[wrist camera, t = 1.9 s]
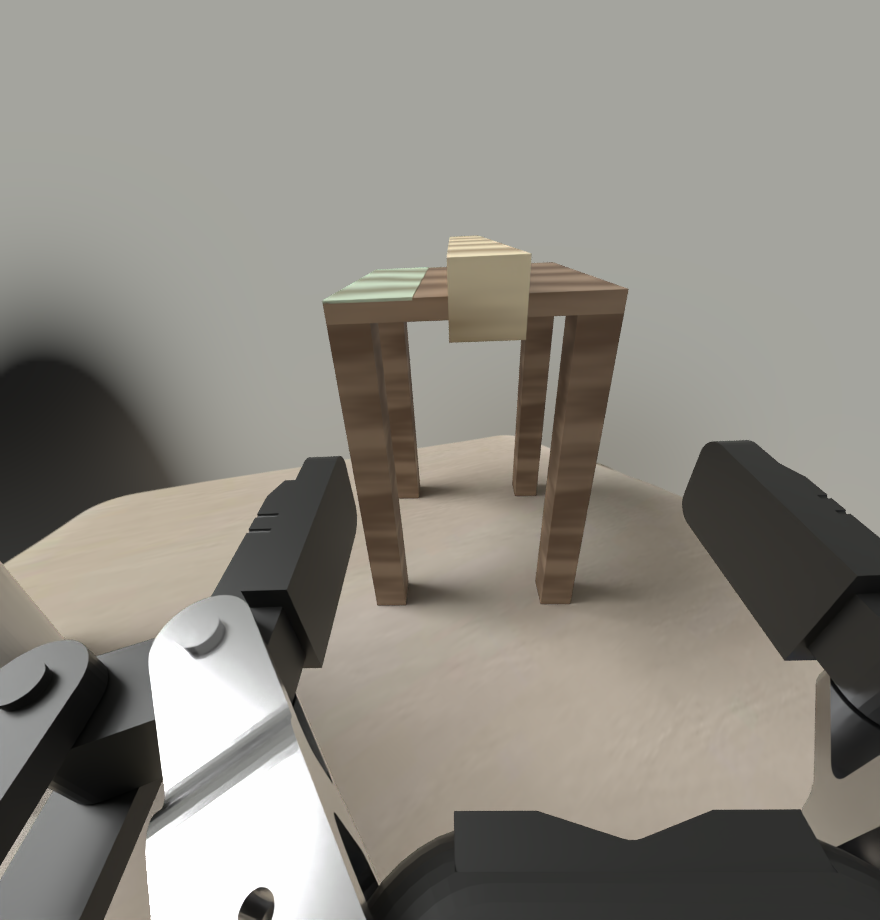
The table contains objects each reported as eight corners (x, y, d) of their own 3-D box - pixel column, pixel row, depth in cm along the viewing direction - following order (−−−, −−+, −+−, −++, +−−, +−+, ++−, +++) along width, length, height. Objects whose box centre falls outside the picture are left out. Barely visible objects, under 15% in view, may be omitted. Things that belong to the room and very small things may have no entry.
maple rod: (525, 339, 15) (531, 253, 14) (449, 342, 16) (446, 257, 14) (478, 267, 43) (478, 235, 41) (450, 268, 43) (449, 236, 42)
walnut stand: (570, 603, 41) (628, 288, 25) (377, 605, 42) (322, 300, 26) (532, 483, 60) (552, 261, 44) (400, 486, 60) (376, 269, 45)
